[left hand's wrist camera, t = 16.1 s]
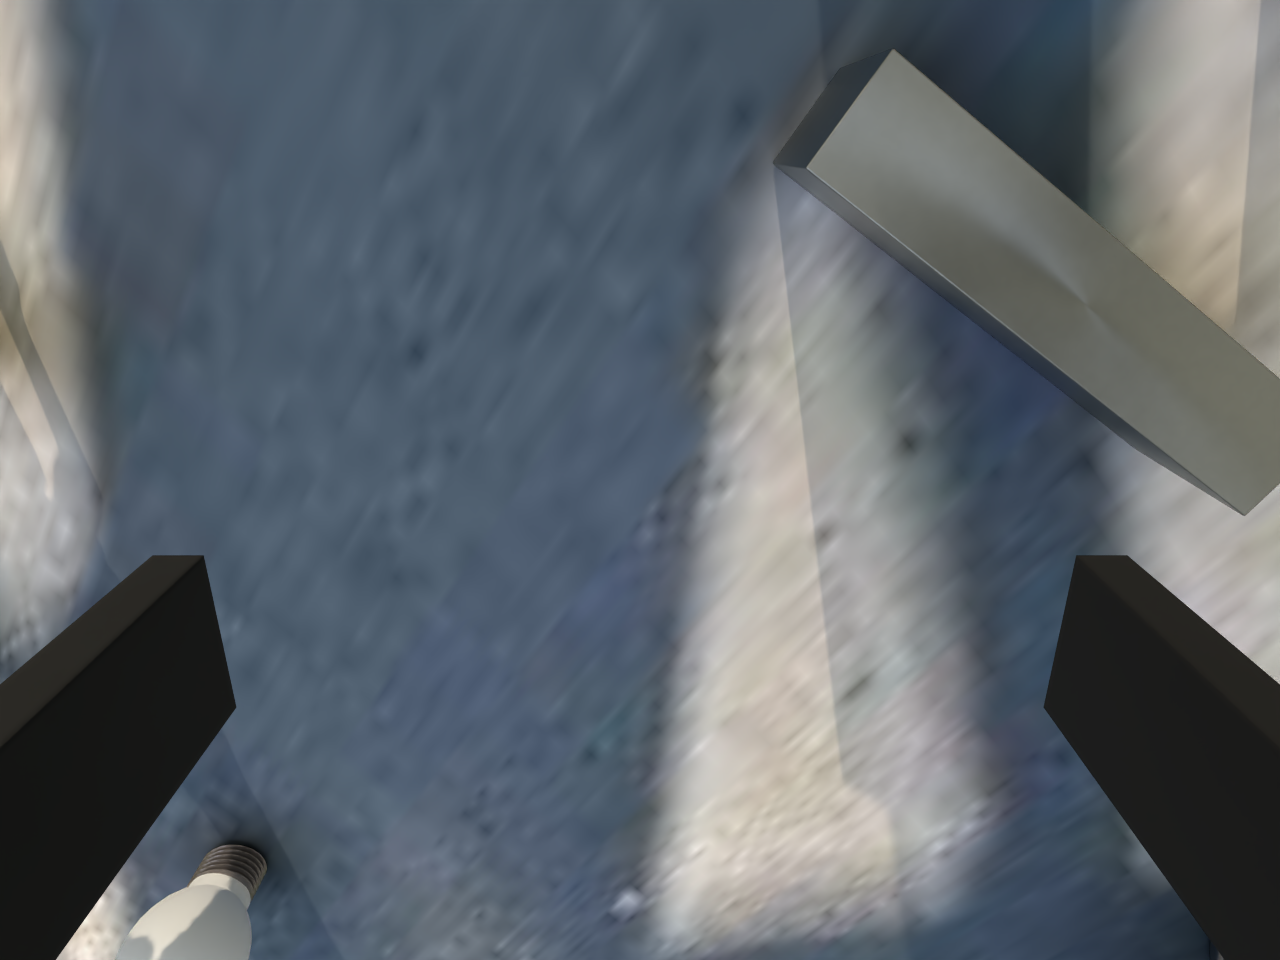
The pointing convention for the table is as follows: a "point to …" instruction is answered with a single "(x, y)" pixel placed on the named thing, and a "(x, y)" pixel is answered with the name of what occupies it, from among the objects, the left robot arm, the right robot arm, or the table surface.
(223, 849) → the light bulb
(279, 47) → the table surface
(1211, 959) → the right robot arm
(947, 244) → the bar
